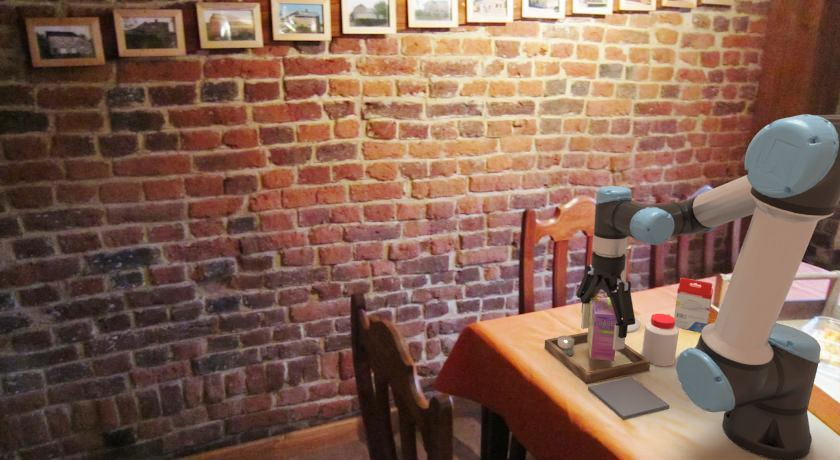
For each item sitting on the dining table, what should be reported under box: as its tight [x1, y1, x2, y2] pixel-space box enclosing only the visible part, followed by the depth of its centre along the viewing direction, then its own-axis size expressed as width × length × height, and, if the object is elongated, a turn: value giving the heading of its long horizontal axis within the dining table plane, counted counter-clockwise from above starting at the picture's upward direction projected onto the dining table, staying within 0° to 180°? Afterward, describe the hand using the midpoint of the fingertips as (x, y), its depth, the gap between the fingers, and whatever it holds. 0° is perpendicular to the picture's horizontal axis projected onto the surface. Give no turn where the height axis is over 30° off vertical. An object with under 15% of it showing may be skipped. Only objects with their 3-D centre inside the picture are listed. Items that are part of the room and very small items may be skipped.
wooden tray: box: [544, 331, 652, 385], centre depth 143 cm, size 18×18×2 cm
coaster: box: [587, 376, 670, 421], centre depth 127 cm, size 12×12×1 cm
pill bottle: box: [640, 313, 680, 367], centre depth 142 cm, size 8×8×11 cm
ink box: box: [673, 277, 714, 333], centre depth 159 cm, size 8×5×15 cm, turn 58°
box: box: [587, 296, 618, 362], centre depth 139 cm, size 10×6×12 cm, turn 168°
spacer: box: [557, 335, 575, 358], centre depth 146 cm, size 4×4×4 cm
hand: (601, 337), depth 140 cm, fingers closed on box, 12 cm apart
